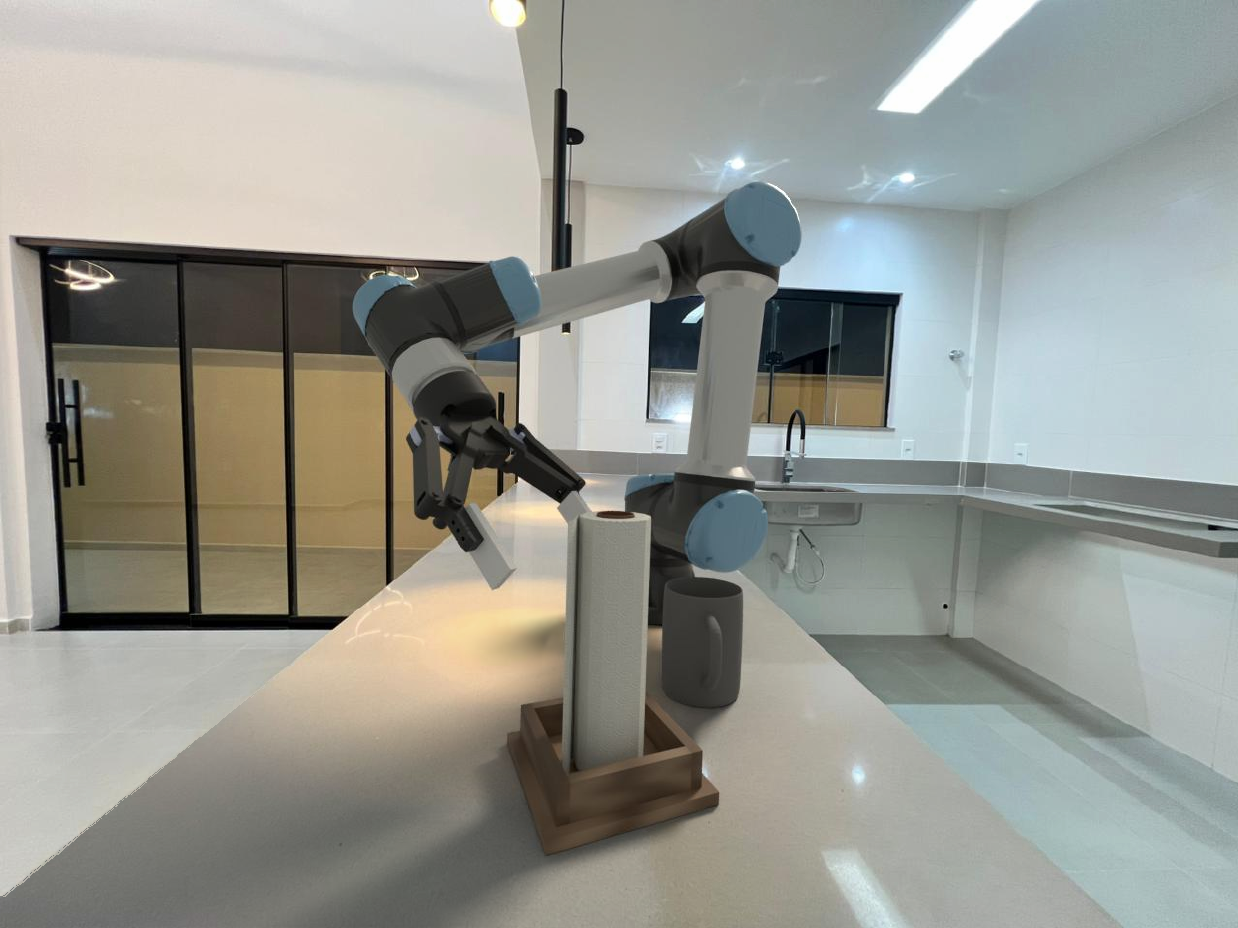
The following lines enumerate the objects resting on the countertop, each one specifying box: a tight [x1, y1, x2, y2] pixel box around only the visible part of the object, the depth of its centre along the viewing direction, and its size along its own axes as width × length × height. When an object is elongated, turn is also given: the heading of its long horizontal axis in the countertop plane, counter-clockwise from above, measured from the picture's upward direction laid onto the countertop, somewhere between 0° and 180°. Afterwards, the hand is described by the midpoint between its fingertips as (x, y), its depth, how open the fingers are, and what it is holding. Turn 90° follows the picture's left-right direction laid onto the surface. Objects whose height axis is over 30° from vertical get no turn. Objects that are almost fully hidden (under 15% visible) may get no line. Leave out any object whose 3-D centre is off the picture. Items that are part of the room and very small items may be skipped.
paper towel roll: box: [562, 510, 651, 774], centre depth 44 cm, size 7×6×21 cm
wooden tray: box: [506, 690, 720, 856], centre depth 44 cm, size 14×14×4 cm
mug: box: [660, 576, 744, 709], centre depth 57 cm, size 14×9×12 cm
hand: (560, 562), depth 46 cm, fingers open, 13 cm apart
